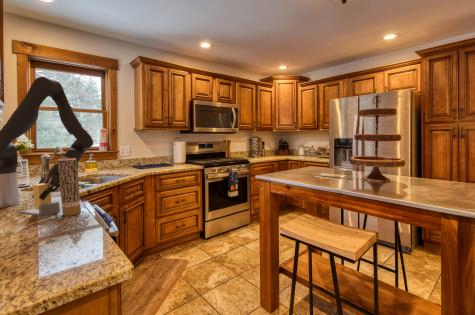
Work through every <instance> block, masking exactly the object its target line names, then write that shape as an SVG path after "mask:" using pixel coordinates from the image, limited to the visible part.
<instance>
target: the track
mask: <svg viewBox="0 0 475 315" xmlns="http://www.w3.org/2000/svg"><path fill="white" fill-rule="evenodd" d="M59 212H60V213H61V211H60V202H59V201H54V202H52V203H49V204H45V205H40V206H39V210H38V209H35V208H31V209H27V210H19V211H18V213H19V214H26V215H33V216H39V217H46V216H49V215H53V214H56V213H59Z"/></svg>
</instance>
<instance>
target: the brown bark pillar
mask: <svg viewBox="0 0 475 315" xmlns="http://www.w3.org/2000/svg"><path fill="white" fill-rule="evenodd" d="M57 161H58V170H59V180H60V187H59V189H60V199H61V210H62V215H63V216H64V217H69V216H76V215H79V214H81V211H82V208H81V196H80V186H79V175H78V163H77V162H76V158H64V159H60V158H58V159H57Z"/></svg>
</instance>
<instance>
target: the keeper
mask: <svg viewBox="0 0 475 315" xmlns="http://www.w3.org/2000/svg"><path fill="white" fill-rule="evenodd" d="M47 185H48V184H47V183H42V184H38V183H36V184H32V194H33V195H32V196H34V198H33V204H34V209H38V210H39V206H40V205H45V204H49V203H53V202H52V194H51V193H52V192H51V193H49V194H48V195H47V197H46V198H45V199H44V200H42V199H40V198H39V196H40V195H41V194H42V193H43V191H44V190H45V189H46V188H47ZM45 191H46V190H45Z"/></svg>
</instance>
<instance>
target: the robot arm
mask: <svg viewBox="0 0 475 315" xmlns="http://www.w3.org/2000/svg"><path fill="white" fill-rule="evenodd" d="M48 97H50V98H51V100H52V101H53V102H54V103H55V105H56V107H57V111H58V115H59V119H60V121H61V123H62V125H63V127H64V128H65V130H66V131H67V133H68V134H69V135H71V136H73V137H74V138H75V141H73V142H72V144H71V145H70V147H69V148H68V150H66V152H65V153H64V154H63V155H62V156H61V157H60V158H59V159H64V158H76V162H77V164H78V163H79V162H80V160H82V157H83V155H84V154H85V152H86V151H88V150H89V149H90V148H91V147H93V145H94V140H93V138H92V136H91V135H90V133H88V131H87V130H86V129H85V128H84V127H83V126H82V123H81V122H80V120H79V119H78V117H77V116H76V114H75V112H74V110H73V108H72V106H71V104H70V102H69V99H68V96H66V92H65V90H64V88H63V86H62V84H61V82H60V81H59V80H57V79H56V78H53V77H47V76H38V77H37V78H35V79H34V81H33V82H32V83H31V85H30V87H29V89H28V91H27V93H26V94H25V96H24V97H23V98H22V100H21V101H20V104H18V106H17V108H16V109H15V110H14V111H13V113H12V114H11V115H10V117H9V118H8V120H7V121H6V123H5V124H4V125H3V126H2V128H1V129H0V208H2V209H3V208H10V207H14V206H17V205H21V200H20V199H21V198H20V190H19V180H18V174H17V173H18V172H17V168H18V165H19V163H18V149H17V147H16V146H15V144H14V143H12V142H13V141H15V140H16V139H19V137H21V136H23V135H24V134H26V133H28V132H29V131H30V130H31V129H32V128H33V126H34V125H35V123H36V122H37V120H38V118H39V113H40V112H39V111H40V107H41V105H42V104H43V103H44V101H45V100H46V99H47V98H48ZM48 173H49V175H48V176H47V177H46V178H45V177H42V178H41V179H40V180H39V182H38V183H37V184H42V183H47V184H48V185H47V188H46V189H45V190H46V191H45V190H44V191H43V193H42V194H41V195H40V196H39V198H40V199H42V200H44V199H45V198H46V197H47V195H48V194H49V193H52V192H53V193H55V192H56V191H57V190H58V189H60V180H59V170H58V160H57V161H56V162H55V163H54V165H52V167H51V168H50V169H49V171H48ZM32 198H33V199H34V196H33V195H32Z"/></svg>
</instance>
